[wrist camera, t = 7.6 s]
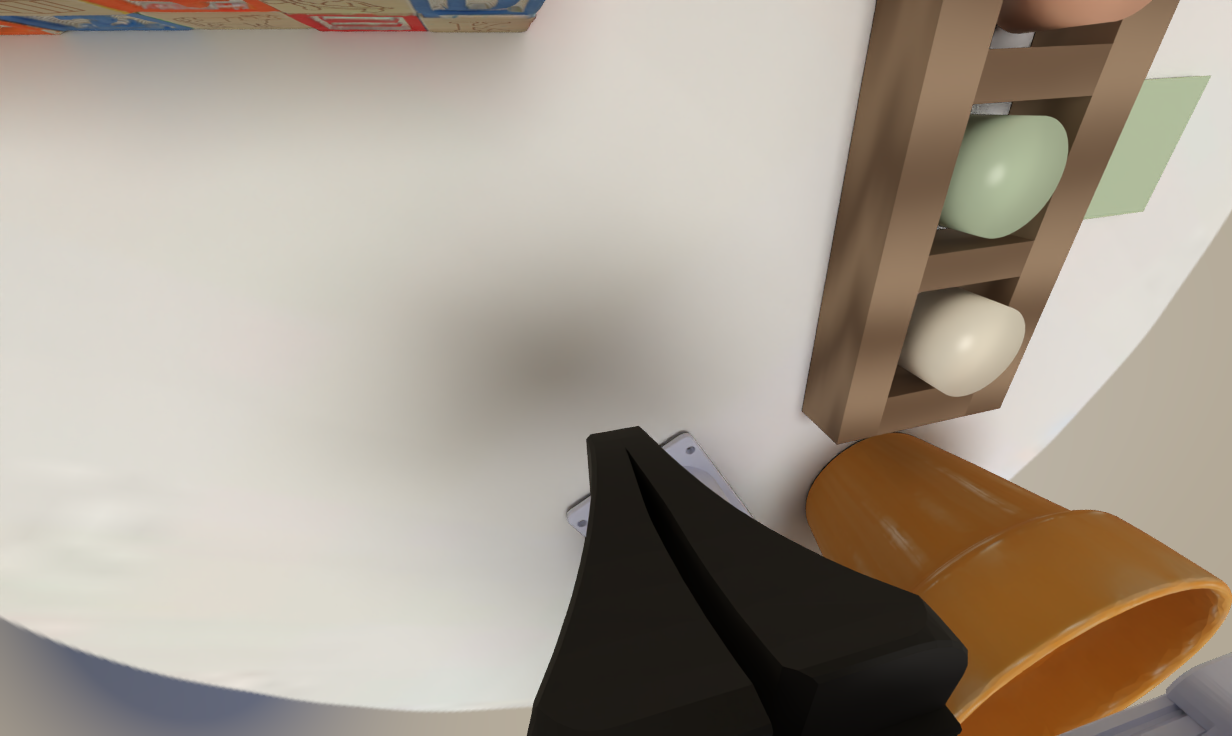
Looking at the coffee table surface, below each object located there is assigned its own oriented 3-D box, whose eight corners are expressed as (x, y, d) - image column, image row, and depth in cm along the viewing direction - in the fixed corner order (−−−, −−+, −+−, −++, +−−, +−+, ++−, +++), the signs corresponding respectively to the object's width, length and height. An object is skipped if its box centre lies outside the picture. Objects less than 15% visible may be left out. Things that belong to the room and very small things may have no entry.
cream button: (950, 359, 24) (1003, 387, 22) (878, 373, 24) (923, 404, 21) (979, 278, 22) (1040, 300, 20) (900, 291, 21) (954, 315, 19)
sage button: (976, 217, 22) (1039, 232, 19) (896, 228, 21) (950, 244, 19) (1011, 111, 20) (1087, 112, 17) (923, 117, 19) (989, 119, 16)
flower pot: (723, 507, 28) (877, 764, 17) (918, 347, 26) (1242, 528, 15) (822, 585, 35) (976, 801, 24) (982, 466, 33) (1233, 646, 22)
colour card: (1131, 209, 25) (1143, 211, 24) (1041, 221, 24) (1051, 223, 23) (1196, 76, 22) (1211, 75, 21) (1097, 82, 21) (1109, 82, 20)
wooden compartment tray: (952, 380, 28) (999, 408, 25) (801, 411, 26) (836, 444, 23) (1174, -227, 16) (1307, -290, 13) (923, -252, 14) (1022, -331, 11)
